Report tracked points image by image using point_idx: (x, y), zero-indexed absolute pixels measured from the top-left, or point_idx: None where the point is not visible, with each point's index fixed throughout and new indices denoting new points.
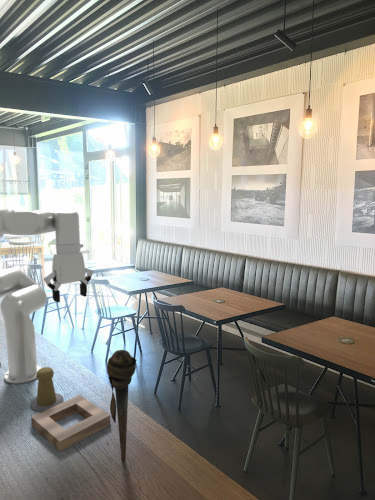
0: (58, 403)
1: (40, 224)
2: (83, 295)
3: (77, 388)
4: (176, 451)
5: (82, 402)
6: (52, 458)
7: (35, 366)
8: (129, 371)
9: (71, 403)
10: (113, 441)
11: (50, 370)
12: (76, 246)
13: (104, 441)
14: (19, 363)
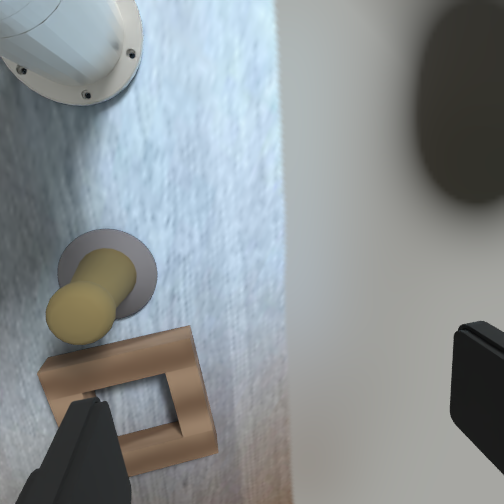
0: (135, 305)
1: None
2: (456, 403)
3: (213, 246)
4: None
5: (182, 376)
6: None
7: (107, 62)
8: None
9: (154, 366)
10: (197, 482)
11: (97, 335)
12: None
13: (181, 475)
14: (20, 65)
